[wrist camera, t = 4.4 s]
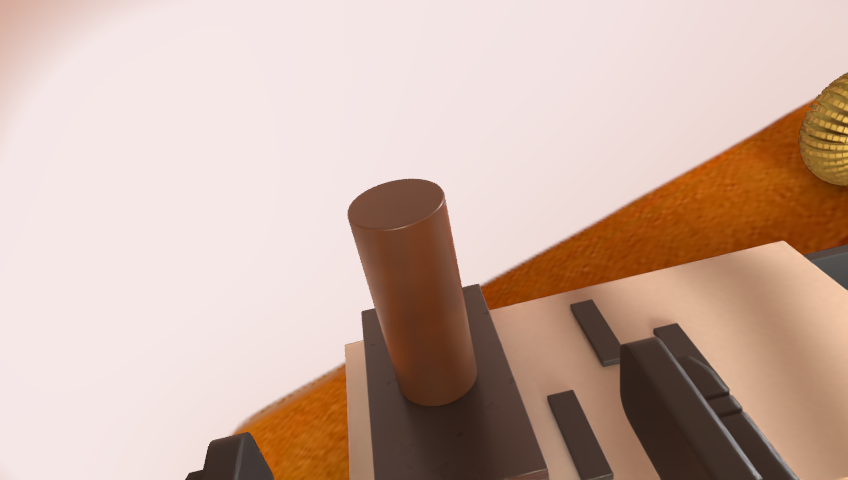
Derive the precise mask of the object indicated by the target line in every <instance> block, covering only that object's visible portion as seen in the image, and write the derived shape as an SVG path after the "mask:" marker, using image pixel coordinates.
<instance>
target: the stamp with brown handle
mask: <svg viewBox="0 0 848 480" xmlns="http://www.w3.org/2000/svg"><path fill="white" fill-rule="evenodd" d="M348 219H349V223H350V226H351V229H352V233H353V236H354V239H355V243H356V246H357V249H358V253H359V256H360V259H361V263H362V266H363V269H364V272H365V276H366V279H367V283H368V285H369V289H370V293H371V296H372V299H373V303H374V306H375V308H374V309H370V310H365V311H362V326H363V339H364V352H365V365H366V378H367V391H368V404H369V417H370V429H371V442H372V455H373V468H374V480H549V470H548V466H547V463H546V461H545V458H544V455H543V453H542V450H541V447H540V445H539V442H538V439H537V437H536V434H535V431H534V429H533V426H532V423H531V421H530V418H529V415H528V413H527V410H526V407H525V405H524V402H523V400H522V397H521V394H520V392H519V389H518V386H517V384H516V381H515V378H514V376H513V373H512V370H511V368H510V365H509V362H508V360H507V357H506V354H505V352H504V349H503V346H502V344H501V341H500V338H499V336H498V333H497V330H496V328H495V325H494V322H493V320H492V317H491V315H490V312H489V309H488V307H487V304H486V301H485V299H484V296H483V293H482V291H481V288H480V285H479V284H475V285H471V286H467V287H463V288H462V286H461V280H460V276H459V269H458V265H457V259H456V254H455V249H454V244H453V238H452V233H451V227H450V223H449V217H448V211H447V206H446V200H445V195H444V192H443V190H442V189H441V188H440V187H439V186H438V185H437V184H435V183H433V182H430V181H427V180H421V179H403V180H396V181H391V182H387V183H384V184H381V185H378V186H376V187H373V188H371V189H369V190H367V191H365V192H364V193H362V194H361V195H359V196H358V197H357V198H356V199H355V200H354V201H353V202H352V203H351V205H350V207H349V209H348Z"/></svg>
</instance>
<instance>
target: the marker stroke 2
mask: <svg viewBox="0 0 848 480" xmlns="http://www.w3.org/2000/svg"><path fill="white" fill-rule="evenodd" d="M547 400H548V403H549V405H550V408H551V410H552V413H553V415H554V417H555V420H556V422H557V424H558V427H559V429H560V431H561V434H562V436H563V438H564V441H565V443H566V446H567V448H568V450H569V453H570V455H571V457H572V460H573V462H574V464H575V467H576V469H577V472H578V474H579V476H580V479H581V480H611V479H614V473H613V471H612V469H611V466H610V464H609V462H608V460H607V458H606V456H605V454H604V452H603V450H602V448H601V446H600V444H599V442H598V440H597V438H596V436H595V433H594V431H593V429H592V427H591V425H590V423H589V421H588V419H587V417H586V415H585V413H584V411H583V409H582V407H581V405H580V402H579V400H578V398H577V396H576V394H575V392H574V390H569V391H564V392H560V393H556V394H552V395H548V396H547Z"/></svg>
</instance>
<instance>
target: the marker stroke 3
mask: <svg viewBox="0 0 848 480" xmlns="http://www.w3.org/2000/svg"><path fill="white" fill-rule="evenodd" d="M653 334H654V335H655V336H657V337H659V338H660V339H661V340H662V341H663V342H664V343H665V345H666V346H667V348H668V349H669V350H670V352H671V353H672V354H673V356H674V357H675V358H678V357H682V356H687V355H691V356H692V357H694V358H695V359H697V360H698V361H700V362H701V363H703V364H704V365H706V366H708V367H709V368H711V369H712V370H713V371H714V372H715V373H716V374H717V376H718V377H719V378H720V379H721V377H720V376H719V375H718V373H717V372H716V371H715V370H714V368H713V367H712V366H711V365H710V363H709V362H708V361H707V360H706V358H705V357H704V356H703V355H702V353H701V352H700V351H699V350H698V348H697V347H696V346H695V345H694V343H693V342H692V341H691V339H690V338H689V337H688V336H687V334H686V333H685V332H684V331H683V329H682V328H681V327H680V326H679V324H678V323H674V324H670V325H666V326H662V327H658V328H654V329H653ZM721 381H722V382H723V383H724V385H725V386H726V387H727V388H728V390H729V392H730V389H729V387H728V386H727V385H726V384H725V382H724V381H723V380H722V379H721Z"/></svg>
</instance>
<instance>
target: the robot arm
mask: <svg viewBox="0 0 848 480" xmlns="http://www.w3.org/2000/svg"><path fill="white" fill-rule="evenodd" d="M620 397H621V402H622V406H623V409H624V412H625V415H626V417H627V419H628V421H629V423H630V425H631V427H632V429H633V430H634V432H635V434H636V436H637V438H638V439H639V441H640V443H641V445H642V447H643V448H644V450H645V452H646V454H647V456H648V457H649V459H650V461H651V463H652V465H653V466H654V468H655V470H656V472H657V474H658V475H659V477H660V479H661V480H800V479H799V478H798V477H797V476H796V475H795V474H794V472H793V471H792V470H791V469H790V467H789V466H788V465H787V463H786V462H785V461H784V460H783V458H782V457H781V456H780V455H779V453H778V452H777V451H776V449H775V448H774V447H773V446H772V444H771V443H770V442H769V441H768V439H767V438H766V437H765V435H764V434H763V433H762V432H761V430H760V429H759V428H758V427H757V425H756V424H755V423H754V421H753V420H752V419H751V418H750V416H749V415H748V414H747V413H746V412H744V411H743V408H742V406H741V405H740V404H739V402H738V401H737V400H736V399H735V397H734V396H733V395H731V394H730V392H729V390H728V388H727V387H726V386H725V385H724V383H723V382H722V381H721V379H720V378H719V377H718V376H717V374H716V373H715V372H714V371H713V370H712V369H711V368H709V367H708V366H706V365H704V364H703V363H701V362H700V361H698V360H697V359H695V358H694V357H692V356H691V355H687V356H682V357H678V358H675V357H674V356H673V354H672V353H671V352H670V350H669V349H668V348H667V346H666V345H665V343H664V342H663V341H662V340H661V339H660V338H659V337H657V336H654V337H650V338H646V339H642V340H637V341H633V342H629V343H625V344H622V345H621V347H620ZM185 480H274V477H273V474H272V472H271V470H270V468H269V467H268V465H267V463H266V461H265V459H264V457H263V455H262V453H261V452H260V450H259V448H258V446H257V444H256V442H255V440H254V438H253V437H252V435H251V434H250V433H249V432H246V433H242V434H237V435H233V436H229V437H225V438H221V439H217V440H213V441H212V442H210V444H209V446H208V450H207V454H206V459H205V464H204V468H203V470H200V471H196V472H192V473H189V474H188V476H187V478H186V479H185Z"/></svg>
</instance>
